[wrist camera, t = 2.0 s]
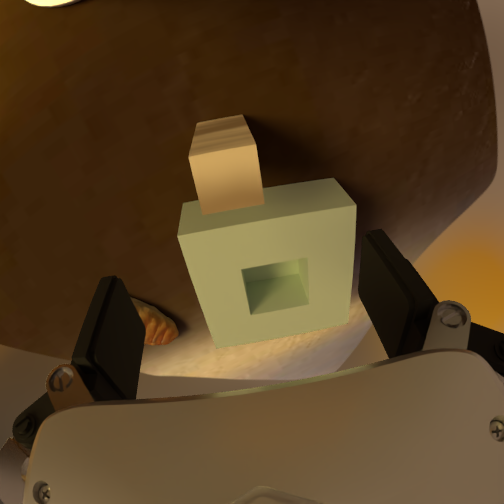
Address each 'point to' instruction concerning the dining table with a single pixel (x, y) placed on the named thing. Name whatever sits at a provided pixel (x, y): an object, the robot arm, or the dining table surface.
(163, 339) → the pastry
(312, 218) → the well block
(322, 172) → the dining table surface
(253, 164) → the birch block
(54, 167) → the dining table surface
